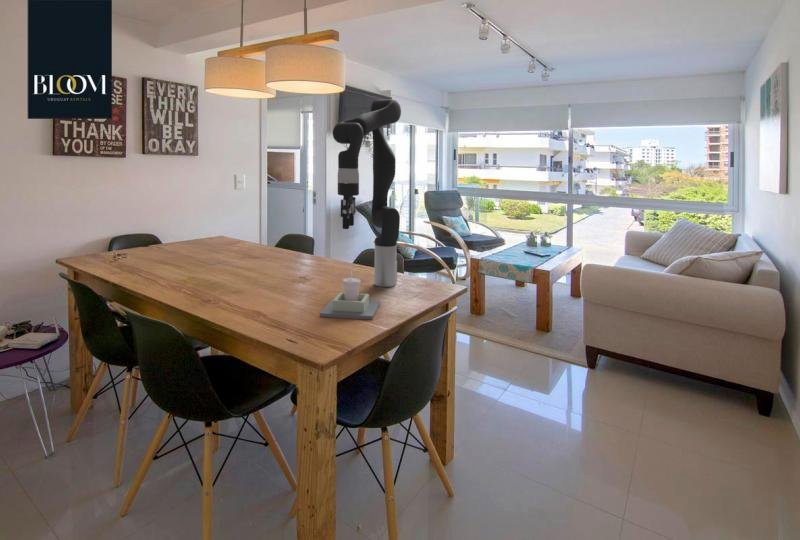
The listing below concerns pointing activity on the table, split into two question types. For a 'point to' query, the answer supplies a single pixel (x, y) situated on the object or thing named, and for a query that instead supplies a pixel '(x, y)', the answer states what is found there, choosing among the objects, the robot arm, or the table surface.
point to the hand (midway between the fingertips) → (348, 227)
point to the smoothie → (351, 287)
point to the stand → (351, 307)
